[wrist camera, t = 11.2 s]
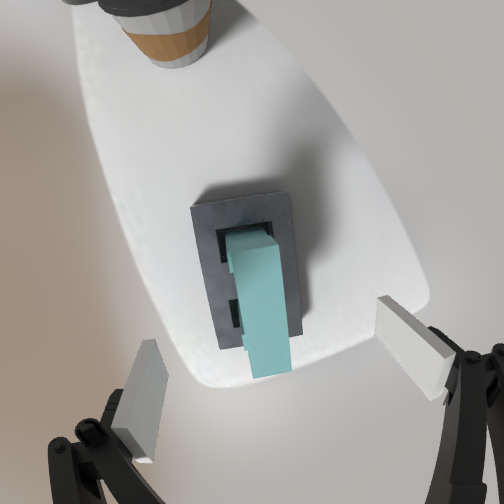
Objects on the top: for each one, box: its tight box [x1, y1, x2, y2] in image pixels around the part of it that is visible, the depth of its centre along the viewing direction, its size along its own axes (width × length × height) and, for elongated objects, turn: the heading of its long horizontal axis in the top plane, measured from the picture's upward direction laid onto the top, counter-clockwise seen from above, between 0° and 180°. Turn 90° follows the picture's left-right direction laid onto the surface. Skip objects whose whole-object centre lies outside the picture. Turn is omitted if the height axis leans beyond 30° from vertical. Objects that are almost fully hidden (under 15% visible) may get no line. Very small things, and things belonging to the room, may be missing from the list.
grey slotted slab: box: [190, 191, 303, 350], centre depth 28 cm, size 15×9×2 cm, turn 8°
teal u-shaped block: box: [225, 226, 292, 379], centre depth 24 cm, size 10×4×11 cm, turn 8°
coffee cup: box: [97, 0, 212, 69], centre depth 15 cm, size 8×8×15 cm
